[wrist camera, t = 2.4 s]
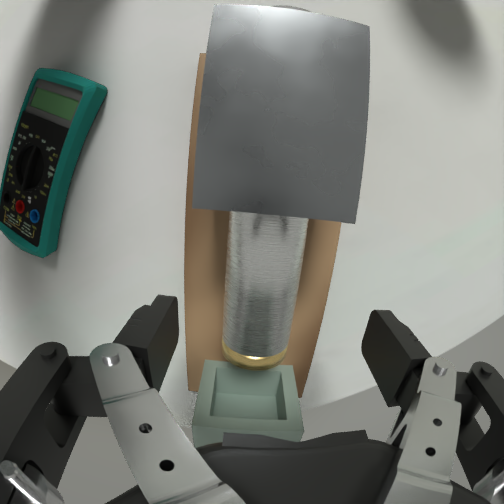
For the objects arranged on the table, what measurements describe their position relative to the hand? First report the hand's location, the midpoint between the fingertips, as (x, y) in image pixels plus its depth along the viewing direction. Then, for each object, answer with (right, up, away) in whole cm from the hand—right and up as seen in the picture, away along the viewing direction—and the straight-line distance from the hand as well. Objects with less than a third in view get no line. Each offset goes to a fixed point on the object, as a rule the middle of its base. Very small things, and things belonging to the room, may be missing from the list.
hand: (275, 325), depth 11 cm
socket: (-1, -8, +11) cm, 14 cm away
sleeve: (0, +11, +5) cm, 12 cm away
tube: (0, +6, +5) cm, 8 cm away
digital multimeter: (-18, +11, +7) cm, 22 cm away
